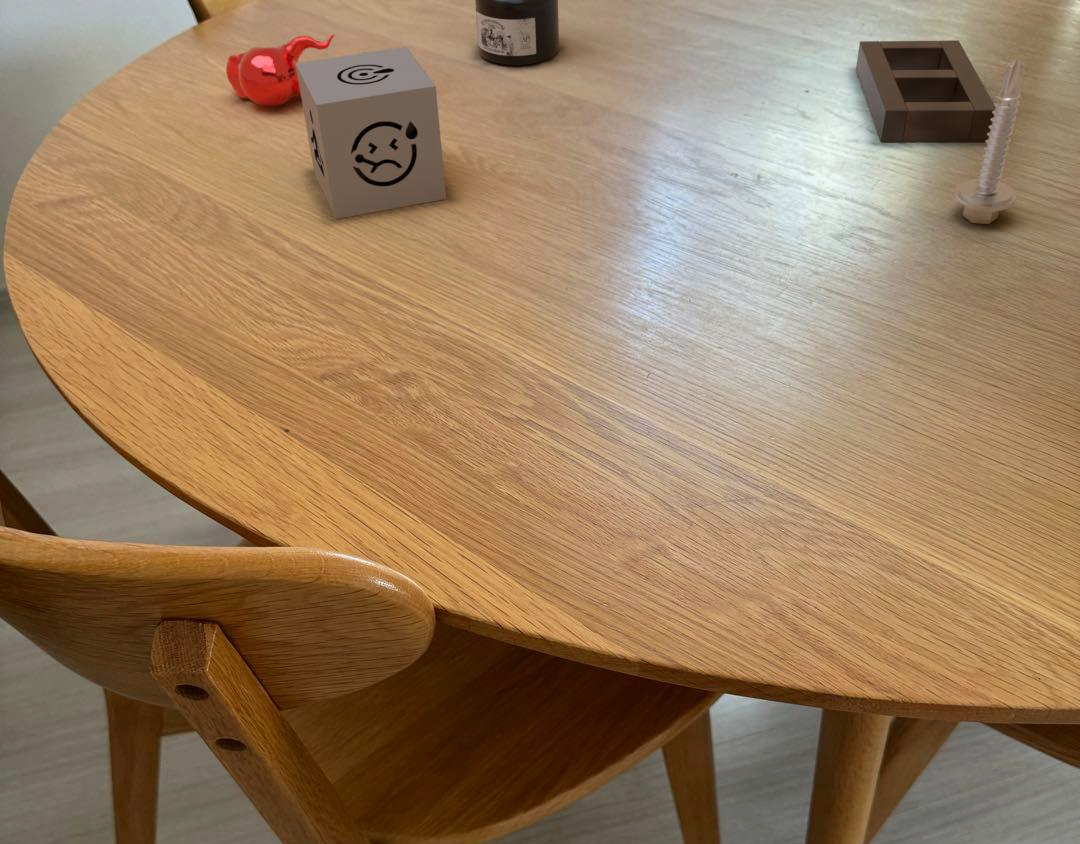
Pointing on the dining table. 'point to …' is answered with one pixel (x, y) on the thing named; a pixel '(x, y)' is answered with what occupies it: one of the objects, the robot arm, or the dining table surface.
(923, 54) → the brown divided frame
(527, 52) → the ink bottle
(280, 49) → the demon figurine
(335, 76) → the icon cube
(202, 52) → the dining table surface
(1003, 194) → the screw
